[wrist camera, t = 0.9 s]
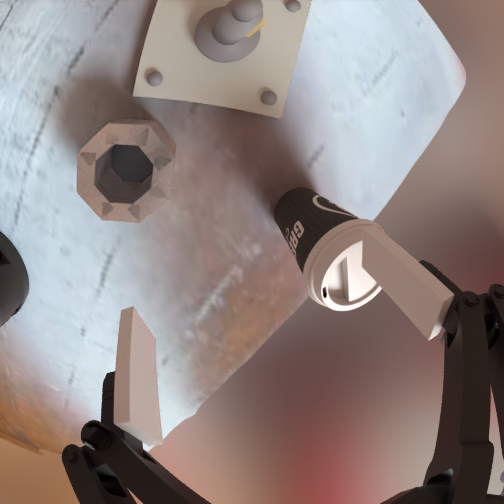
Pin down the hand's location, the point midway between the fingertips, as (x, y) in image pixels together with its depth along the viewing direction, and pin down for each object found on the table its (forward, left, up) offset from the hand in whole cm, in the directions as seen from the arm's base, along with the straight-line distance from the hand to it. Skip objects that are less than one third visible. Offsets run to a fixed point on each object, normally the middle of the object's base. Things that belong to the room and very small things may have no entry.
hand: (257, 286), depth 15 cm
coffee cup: (+12, -2, -20) cm, 24 cm away
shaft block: (-2, +17, -20) cm, 26 cm away
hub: (-9, +2, -20) cm, 22 cm away
